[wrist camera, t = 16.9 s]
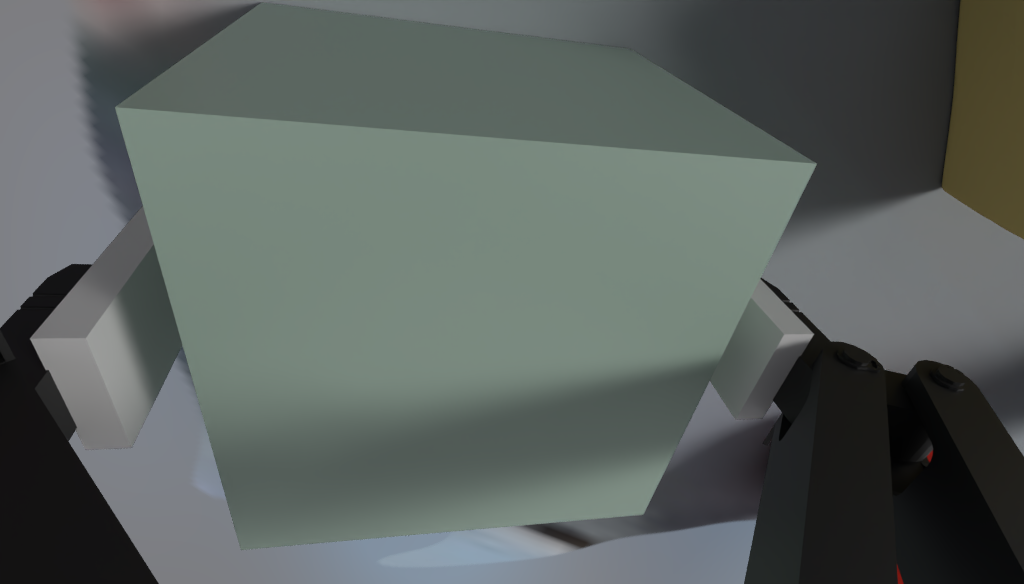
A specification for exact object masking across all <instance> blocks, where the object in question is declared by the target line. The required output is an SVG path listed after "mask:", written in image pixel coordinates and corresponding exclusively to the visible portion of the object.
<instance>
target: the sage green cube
mask: <svg viewBox="0 0 1024 584" xmlns="http://www.w3.org/2000/svg"><path fill="white" fill-rule="evenodd" d="M115 109H116V113H117V116H118V120H119V123H120V127H121V130H122V134H123V137H124V141H125V145H126V148H127V152H128V155H129V159H130V162H131V166H132V169H133V173H134V176H135V180H136V183H137V187H138V190H139V194H140V197H141V201H142V204H143V208H144V211H145V215H146V218H147V222H148V225H149V229H150V232H151V236H152V239H153V243H154V246H155V250H156V253H157V257H158V260H159V264H160V268H161V271H162V275H163V278H164V282H165V285H166V289H167V292H168V296H169V299H170V303H171V306H172V310H173V313H174V317H175V320H176V324H177V327H178V331H179V334H180V338H181V341H182V345H183V348H184V352H185V355H186V359H187V362H188V366H189V369H190V373H191V376H192V380H193V383H194V387H195V391H196V394H197V398H198V401H199V405H200V408H201V412H202V415H203V419H204V422H205V426H206V429H207V433H208V436H209V440H210V443H211V447H212V450H213V454H214V457H215V461H216V464H217V468H218V471H219V475H220V478H221V482H222V485H223V489H224V492H225V496H226V499H227V503H228V506H229V510H230V514H231V517H232V520H233V524H234V527H235V531H236V534H237V538H238V541H239V545H240V548H241V550H246V549H258V548H269V547H280V546H292V545H302V544H314V543H325V542H337V541H348V540H359V539H371V538H382V537H394V536H404V535H405V536H406V535H416V534H428V533H439V532H451V531H463V530H474V529H486V528H497V527H508V526H520V525H531V524H542V523H554V522H565V521H577V520H588V519H599V518H611V517H622V516H634V515H643V514H644V512H645V510H646V508H647V506H648V504H649V502H650V500H651V498H652V496H653V494H654V492H655V490H656V488H657V486H658V484H659V482H660V480H661V478H662V476H663V474H664V472H665V470H666V468H667V466H668V464H669V462H670V460H671V458H672V456H673V454H674V452H675V450H676V448H677V446H678V444H679V442H680V440H681V438H682V436H683V434H684V432H685V429H686V427H687V425H688V423H689V421H690V419H691V417H692V415H693V413H694V411H695V409H696V407H697V405H698V403H699V401H700V399H701V397H702V395H703V393H704V391H705V389H706V387H707V385H708V383H709V381H710V379H711V377H712V375H713V373H714V371H715V369H716V367H717V365H718V363H719V361H720V359H721V357H722V355H723V353H724V351H725V349H726V347H727V345H728V343H729V341H730V339H731V337H732V335H733V333H734V331H735V329H736V326H737V324H738V322H739V320H740V318H741V316H742V314H743V312H744V310H745V308H746V306H747V304H748V302H749V300H750V298H751V296H752V294H753V292H754V290H755V288H756V286H757V284H758V282H759V280H760V278H761V276H762V274H763V272H764V270H765V268H766V266H767V264H768V262H769V260H770V258H771V256H772V254H773V252H774V250H775V248H776V246H777V244H778V242H779V240H780V238H781V236H782V234H783V232H784V230H785V228H786V225H787V223H788V221H789V219H790V217H791V215H792V213H793V211H794V209H795V207H796V205H797V203H798V201H799V199H800V197H801V195H802V193H803V191H804V189H805V187H806V185H807V183H808V181H809V179H810V177H811V175H812V173H813V171H814V169H815V167H816V165H817V163H815V162H813V161H812V160H810V159H808V158H807V157H805V156H804V155H802V154H800V153H799V152H797V151H795V150H794V149H792V148H791V147H789V146H787V145H786V144H784V143H782V142H781V141H779V140H778V139H776V138H774V137H773V136H771V135H769V134H768V133H766V132H765V131H763V130H761V129H760V128H758V127H756V126H755V125H753V124H752V123H750V122H748V121H747V120H745V119H743V118H742V117H740V116H739V115H737V114H735V113H734V112H732V111H731V110H729V109H727V108H726V107H724V106H722V105H721V104H719V103H718V102H716V101H714V100H713V99H711V98H709V97H708V96H706V95H705V94H703V93H701V92H700V91H698V90H696V89H695V88H693V87H692V86H690V85H688V84H687V83H685V82H683V81H682V80H680V79H679V78H677V77H675V76H674V75H672V74H670V73H669V72H667V71H666V70H664V69H662V68H661V67H659V66H657V65H656V64H654V63H653V62H651V61H649V60H648V59H646V58H644V57H643V56H641V55H640V54H638V53H636V52H635V51H633V50H631V49H627V48H619V47H611V46H603V45H596V44H588V43H580V42H572V41H564V40H556V39H548V38H540V37H532V36H524V35H517V34H509V33H501V32H493V31H485V30H477V29H469V28H461V27H453V26H445V25H437V24H430V23H422V22H414V21H406V20H398V19H390V18H382V17H374V16H366V15H358V14H351V13H343V12H335V11H327V10H319V9H311V8H303V7H295V6H287V5H279V4H271V3H264V2H261V3H260V4H259V5H257V6H256V7H254V8H253V9H252V10H250V11H249V12H247V13H246V14H245V15H243V16H242V17H240V18H239V19H238V20H236V21H235V22H233V23H232V24H231V25H229V26H228V27H226V28H225V29H224V30H222V31H221V32H219V33H218V34H217V35H215V36H214V37H212V38H211V39H210V40H208V41H207V42H205V43H204V44H203V45H201V46H200V47H198V48H197V49H196V50H194V51H193V52H191V53H190V54H189V55H187V56H186V57H184V58H183V59H182V60H180V61H179V62H177V63H176V64H175V65H173V66H172V67H170V68H169V69H168V70H166V71H165V72H163V73H162V74H161V75H159V76H158V77H156V78H155V79H154V80H152V81H151V82H149V83H148V84H147V85H145V86H144V87H142V88H141V89H140V90H138V91H137V92H135V93H134V94H133V95H131V96H130V97H128V98H127V99H126V100H124V101H123V102H121V103H120V104H119V105H117V106H116V107H115Z"/></svg>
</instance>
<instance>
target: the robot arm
mask: <svg viewBox="0 0 1024 584" xmlns="http://www.w3.org/2000/svg"><path fill="white" fill-rule="evenodd" d="M789 301H790V300H789V299H788V298H787V297H786V296H785V295H784V294H783V293H782V292H781V291H780V290H779V289H778V288H776V287H775V286H773V285H772V284H770V283H769V282H767V281H765V280H764V279H762V278H760V280H759V282H758V284H757V286H756V288H755V290H754V292H753V294H752V296H751V298H750V300H749V302H748V304H747V306H746V308H745V310H744V312H743V314H742V316H741V318H740V320H739V322H738V324H737V326H736V329H735V331H734V333H733V335H732V337H731V339H730V341H729V343H728V345H727V347H726V349H725V351H724V353H723V355H722V357H721V359H720V361H719V363H718V365H717V367H716V369H715V371H714V373H713V375H712V377H711V379H710V382H711V383H712V385H713V386H714V388H715V389H716V391H717V392H718V394H719V395H720V397H721V398H722V400H723V401H724V403H725V404H726V406H727V407H728V409H729V410H730V412H731V414H732V415H733V417H734V418H735V420H745V419H763V417H764V416H765V414H766V412H767V411H768V409H769V407H770V406H771V404H772V403H773V401H774V402H775V403H776V405H777V406H778V407H779V409H780V410H781V411H782V414H781V415H780V417H779V419H778V420H777V422H776V423H775V425H774V426H773V428H772V430H771V431H770V433H769V434H768V436H767V437H766V439H765V441H764V442H763V444H764V445H766V446H767V445H768V444H769V443H770V441H772V444H771V449H770V454H769V459H768V464H767V469H766V475H765V480H764V485H763V490H762V495H761V500H760V505H759V510H758V515H757V520H756V526H755V531H754V536H753V541H752V546H751V551H750V556H749V562H748V566H747V572H746V577H745V582H744V584H898V575H897V565H898V568H899V571H900V574H901V577H902V580H903V583H904V584H1024V456H1023V455H1022V453H1021V452H1020V450H1019V449H1018V447H1017V446H1016V444H1015V443H1014V441H1013V440H1012V438H1011V437H1010V435H1009V434H1008V432H1007V431H1006V429H1005V428H1004V426H1003V425H1002V423H1001V421H1000V420H999V418H998V417H997V415H996V414H995V412H994V411H993V409H992V408H991V406H990V405H989V403H988V402H987V400H986V399H985V397H984V396H983V394H982V393H981V391H980V390H979V388H978V387H977V386H976V385H975V384H974V383H973V382H972V381H971V380H970V379H969V378H967V377H966V376H965V375H963V373H962V372H960V371H958V370H957V369H954V368H953V367H951V366H949V365H944V364H941V363H938V362H934V361H928V360H923V361H918V362H917V363H916V365H915V366H914V367H913V368H912V370H911V371H910V372H909V373H908V375H905V374H901V373H896V372H891V371H887V370H884V369H883V366H882V365H881V364H880V363H879V362H878V361H877V360H876V358H874V357H873V356H871V355H870V354H869V353H867V352H866V351H864V350H862V349H860V348H858V347H856V346H854V345H850V344H847V343H844V342H831V341H830V340H829V339H828V338H827V337H826V336H825V335H824V334H823V333H822V332H821V331H820V330H819V329H818V328H817V327H816V326H815V325H814V324H813V323H812V322H811V321H810V320H809V319H808V318H807V317H806V316H805V315H804V314H803V313H802V312H799V309H798V308H797V307H796V306H795V305H794V304H793V303H790V302H789ZM181 347H182V341H181V338H180V334H179V331H178V327H177V324H176V320H175V317H174V313H173V310H172V306H171V303H170V299H169V296H168V292H167V289H166V285H165V282H164V278H163V275H162V271H161V268H160V264H159V260H158V257H157V253H156V250H155V246H154V243H153V239H152V236H151V232H150V229H149V225H148V222H147V218H146V215H145V211H144V208H143V206H142V207H141V208H140V209H139V211H138V212H137V213H136V214H135V215H134V216H133V218H132V219H131V220H130V221H129V222H128V224H127V225H126V226H125V227H124V228H123V229H122V231H121V232H120V233H119V234H118V235H117V237H116V238H115V239H114V240H113V242H111V244H110V245H109V246H108V247H107V248H106V249H105V251H104V252H103V253H102V254H101V255H100V257H99V258H98V259H97V260H96V261H95V262H94V264H93V265H89V264H87V265H86V264H85V265H84V264H71V265H69V266H68V267H66V268H64V269H62V270H60V271H59V272H57V273H55V274H53V275H51V276H50V277H48V278H47V279H46V280H45V281H44V282H43V283H42V284H41V285H40V286H39V287H38V288H37V289H36V291H35V292H34V293H33V297H29V298H28V299H27V300H26V301H25V302H24V303H23V304H22V305H21V309H20V310H17V311H16V312H15V313H14V314H13V315H12V316H11V317H10V318H9V319H8V320H7V321H6V323H5V324H4V325H3V326H2V327H1V328H0V584H158V582H157V580H156V579H155V577H154V576H153V574H152V573H151V571H150V569H149V568H148V566H147V565H146V563H145V562H144V560H143V558H142V557H141V555H140V554H139V552H138V550H137V549H136V548H135V546H134V544H133V543H132V541H131V540H130V538H129V536H128V535H127V533H126V532H125V530H124V528H123V527H122V525H121V524H120V522H119V521H118V519H117V518H116V516H115V514H114V513H113V511H112V510H111V508H110V506H109V505H108V504H107V502H106V500H105V499H104V497H103V495H102V494H101V492H100V491H99V489H98V488H97V486H96V485H95V483H94V481H93V480H92V478H91V477H90V475H89V474H88V472H87V470H86V469H85V467H84V466H83V464H82V462H81V461H80V459H79V458H78V456H77V455H76V453H75V451H74V450H73V448H72V447H71V445H70V443H69V442H68V441H69V440H70V438H71V436H72V435H73V433H74V432H75V430H76V432H77V434H78V436H79V438H80V440H81V442H82V444H83V446H84V448H85V450H99V449H122V448H132V446H133V445H134V443H135V441H136V438H137V437H138V435H139V432H140V430H141V428H142V426H143V424H144V422H145V420H146V418H147V416H148V414H149V412H150V410H151V408H152V406H153V404H154V401H155V400H156V398H157V396H158V394H159V391H160V390H161V388H162V385H163V383H164V381H165V379H166V377H167V375H168V373H169V371H170V369H171V367H172V365H173V363H174V361H175V359H176V357H177V355H178V353H179V351H180V349H181ZM932 450H933V455H932V458H931V461H930V463H929V461H928V458H927V456H928V455H929V454H930V452H931V451H932Z"/></svg>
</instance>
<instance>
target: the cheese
mask: <svg viewBox="0 0 1024 584" xmlns="http://www.w3.org/2000/svg"><path fill="white" fill-rule="evenodd" d="M942 188H943V190H944V191H945V192H947V193H948V194H950V195H951V196H953V197H954V198H956V199H957V200H959V201H960V202H962V203H964V204H965V205H967V206H968V207H970V208H971V209H973V210H974V211H976V212H978V213H979V214H981V215H982V216H984V217H986V218H988V219H990V220H991V221H993V222H994V223H996V224H998V225H999V226H1001V227H1003V228H1004V229H1006V230H1008V231H1009V232H1011V233H1013V234H1015V235H1017V236H1019V237H1021V238H1022V239H1024V0H960V11H959V24H958V37H957V52H956V67H955V81H954V94H953V103H952V111H951V119H950V127H949V135H948V142H947V150H946V157H945V164H944V172H943V180H942Z"/></svg>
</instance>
